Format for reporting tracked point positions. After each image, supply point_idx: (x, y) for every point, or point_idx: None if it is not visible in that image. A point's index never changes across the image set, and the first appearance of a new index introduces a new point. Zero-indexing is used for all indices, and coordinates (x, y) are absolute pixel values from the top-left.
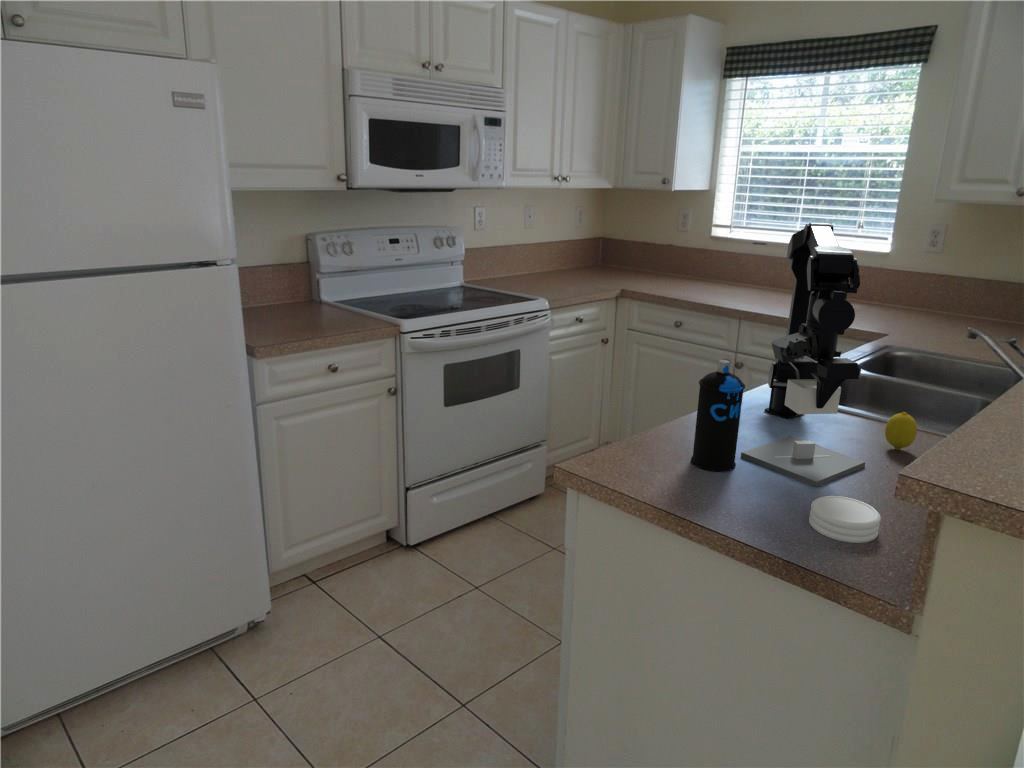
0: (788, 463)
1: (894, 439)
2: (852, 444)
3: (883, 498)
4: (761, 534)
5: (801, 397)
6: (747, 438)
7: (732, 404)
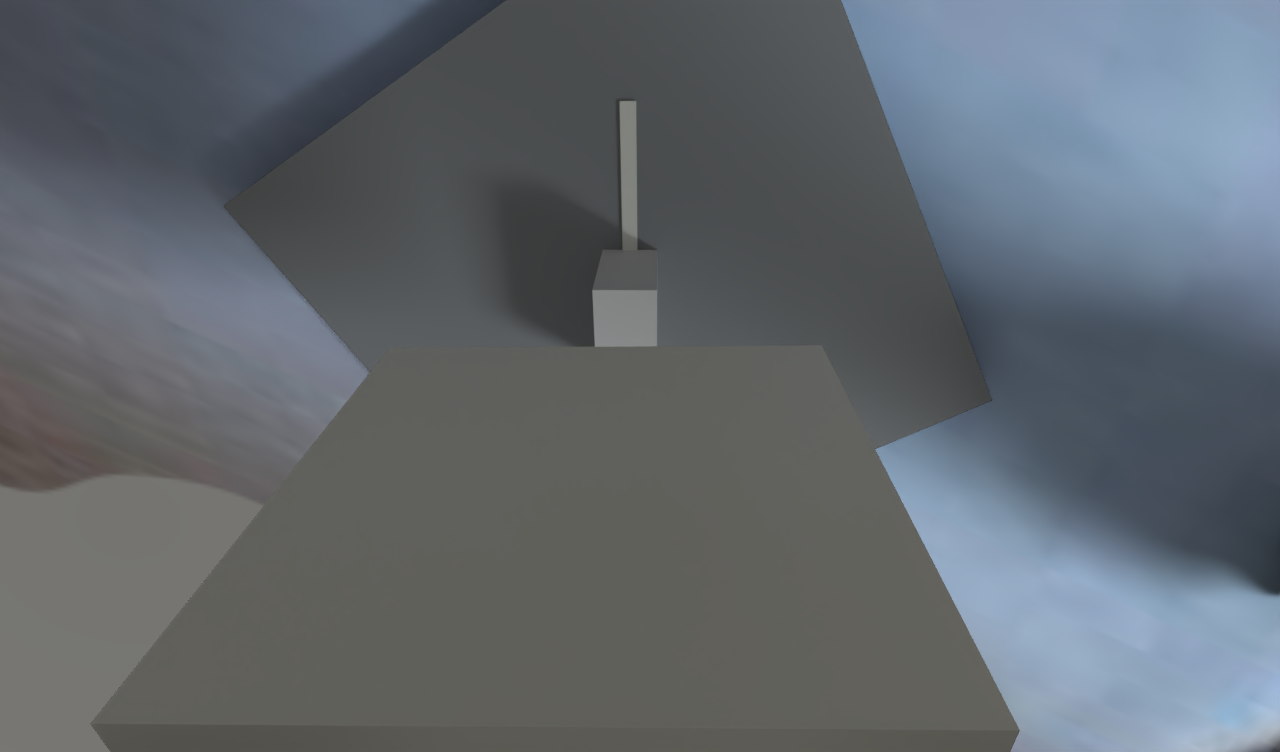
0: (517, 155)
1: None
2: None
3: (189, 466)
4: None
5: (259, 530)
6: (1123, 93)
7: None
